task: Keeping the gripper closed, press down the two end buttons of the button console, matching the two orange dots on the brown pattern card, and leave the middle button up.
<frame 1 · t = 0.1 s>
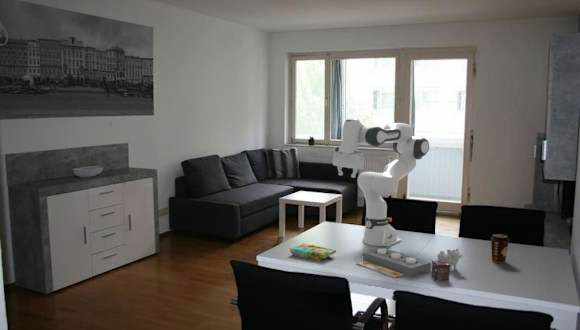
hand: (346, 176, 266), 39 cm above the table, tool pointing down, fingers open, 8 cm apart
button c: (410, 261, 236), point 4 cm above the table, slide at 0.0 cm
box: (440, 279, 226), on the table
console: (395, 265, 244), on the table
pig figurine: (449, 269, 240), on the table
pattern card: (379, 269, 237), on the table
puzzle game: (312, 257, 257), on the table
coffee cup: (498, 261, 252), on the table
button a: (381, 252, 251), point 4 cm above the table, slide at 0.0 cm
button b: (395, 257, 244), point 4 cm above the table, slide at 0.0 cm
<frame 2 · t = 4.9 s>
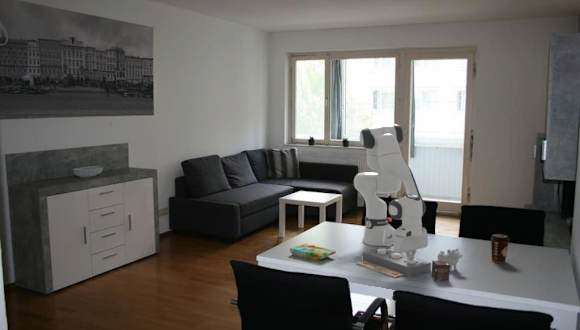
hand: (410, 259, 236), 5 cm above the table, tool pointing down, fingers closed, pressing on button c
button c: (410, 262, 236), point 4 cm above the table, slide at 0.2 cm, touching gripper
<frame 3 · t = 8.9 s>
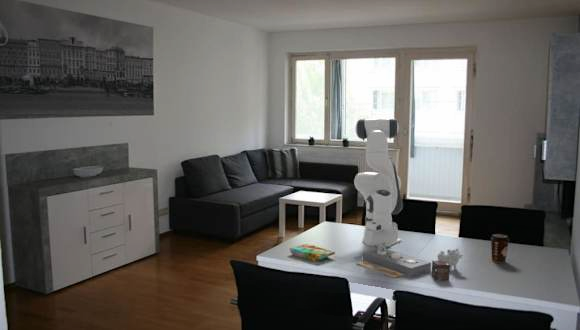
hand: (381, 251, 250), 5 cm above the table, tool pointing down, fingers closed, pressing on button a
button c: (410, 264, 237), point 3 cm above the table, slide at 1.1 cm
button a: (381, 254, 251), point 3 cm above the table, slide at 1.0 cm, touching gripper
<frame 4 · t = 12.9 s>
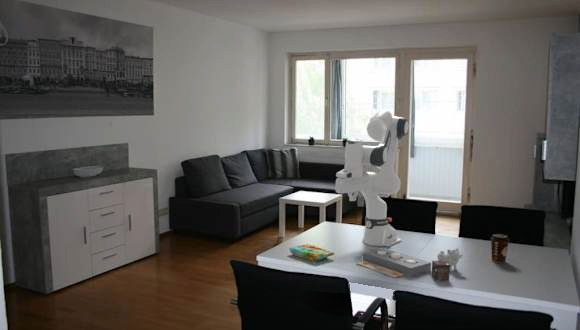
hand: (352, 200, 250), 29 cm above the table, tool pointing down, fingers closed
button a: (381, 255, 251), point 3 cm above the table, slide at 1.2 cm
at the end: button a slide at 1.2 cm; button c slide at 1.1 cm; button b slide at 0.0 cm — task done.
